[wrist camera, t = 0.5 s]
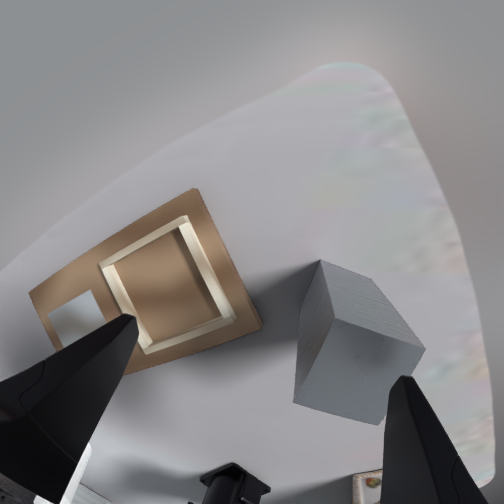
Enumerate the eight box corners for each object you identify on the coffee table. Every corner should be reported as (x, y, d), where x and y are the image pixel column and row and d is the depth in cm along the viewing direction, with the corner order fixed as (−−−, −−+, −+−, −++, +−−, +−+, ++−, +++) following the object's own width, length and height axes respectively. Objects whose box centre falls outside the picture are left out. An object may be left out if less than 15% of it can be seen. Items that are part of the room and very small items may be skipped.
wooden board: (262, 323, 27) (259, 335, 24) (83, 383, 32) (72, 392, 29) (197, 188, 26) (187, 187, 23) (34, 290, 31) (21, 295, 28)
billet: (349, 327, 26) (378, 425, 13) (299, 310, 26) (293, 402, 13) (371, 278, 25) (425, 348, 12) (320, 259, 25) (335, 318, 12)
